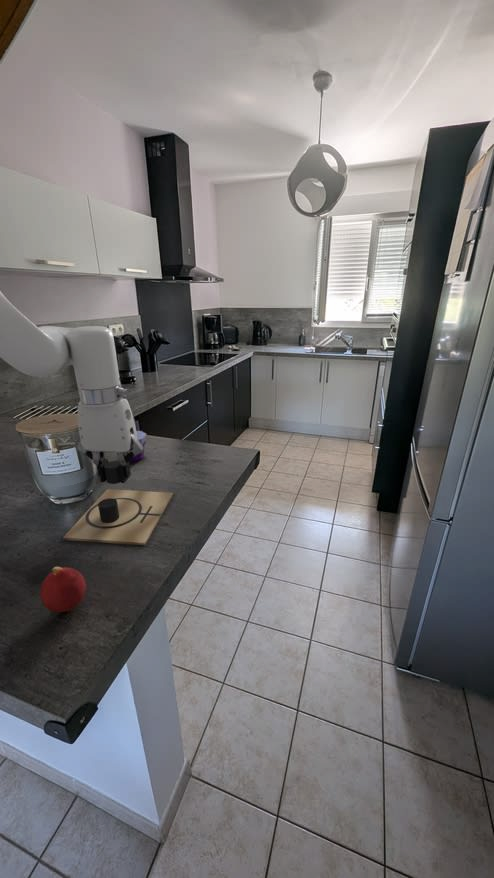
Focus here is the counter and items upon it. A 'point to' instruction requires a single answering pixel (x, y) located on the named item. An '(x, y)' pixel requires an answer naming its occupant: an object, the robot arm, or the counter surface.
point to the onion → (62, 589)
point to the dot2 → (112, 472)
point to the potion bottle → (142, 440)
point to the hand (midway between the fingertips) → (115, 478)
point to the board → (122, 518)
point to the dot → (108, 510)
